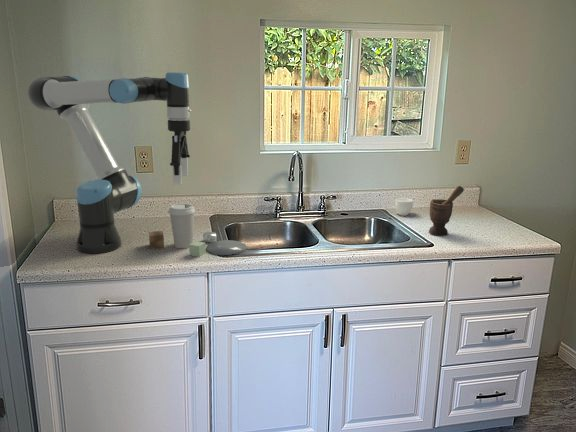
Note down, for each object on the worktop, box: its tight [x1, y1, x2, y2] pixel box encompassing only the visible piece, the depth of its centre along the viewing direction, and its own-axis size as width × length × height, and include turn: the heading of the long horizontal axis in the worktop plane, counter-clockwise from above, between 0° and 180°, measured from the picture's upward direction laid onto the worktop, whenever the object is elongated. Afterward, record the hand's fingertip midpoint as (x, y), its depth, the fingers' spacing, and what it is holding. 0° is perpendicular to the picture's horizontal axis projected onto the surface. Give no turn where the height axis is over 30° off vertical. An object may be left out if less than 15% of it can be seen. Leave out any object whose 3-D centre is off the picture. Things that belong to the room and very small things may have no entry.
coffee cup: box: [167, 202, 196, 249], centre depth 192 cm, size 10×10×15 cm
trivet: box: [206, 239, 247, 256], centre depth 191 cm, size 14×14×1 cm
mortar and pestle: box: [428, 185, 465, 237], centre depth 209 cm, size 12×9×20 cm
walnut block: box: [148, 230, 165, 250], centre depth 193 cm, size 5×5×5 cm
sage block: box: [188, 240, 207, 258], centre depth 185 cm, size 4×4×4 cm
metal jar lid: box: [202, 231, 218, 245], centre depth 199 cm, size 5×5×3 cm
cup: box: [394, 197, 414, 217], centre depth 237 cm, size 8×10×7 cm
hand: (181, 179), depth 188 cm, fingers open, 13 cm apart
